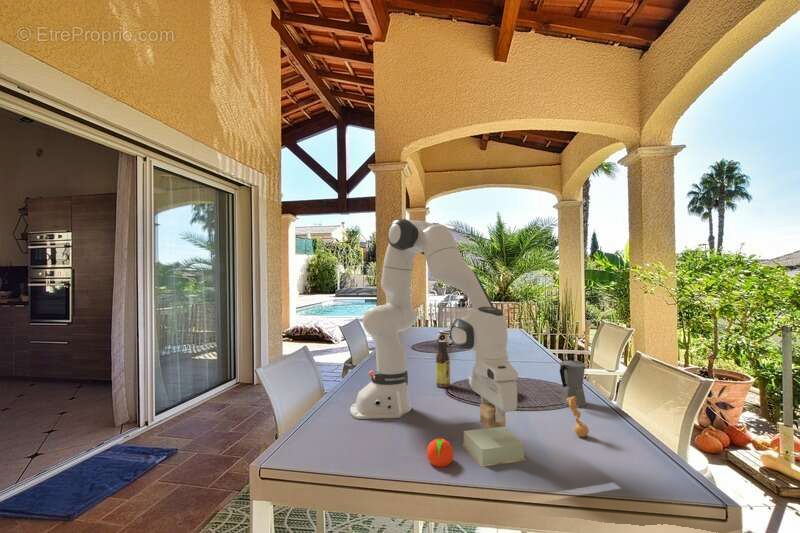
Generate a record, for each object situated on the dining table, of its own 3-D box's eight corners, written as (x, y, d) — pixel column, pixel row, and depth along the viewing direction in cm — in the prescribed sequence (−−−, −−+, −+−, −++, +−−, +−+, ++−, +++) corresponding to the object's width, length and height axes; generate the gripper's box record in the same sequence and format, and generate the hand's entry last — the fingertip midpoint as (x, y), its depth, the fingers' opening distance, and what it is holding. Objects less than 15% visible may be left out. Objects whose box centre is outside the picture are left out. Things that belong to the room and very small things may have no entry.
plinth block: (482, 465, 99) (482, 449, 99) (463, 445, 111) (463, 430, 111) (524, 459, 102) (523, 444, 102) (501, 440, 114) (501, 426, 114)
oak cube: (488, 428, 104) (488, 409, 104) (480, 421, 108) (480, 403, 108) (505, 426, 105) (505, 407, 105) (496, 419, 110) (496, 401, 110)
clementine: (453, 476, 96) (452, 447, 96) (425, 474, 97) (425, 445, 97) (454, 460, 104) (453, 434, 104) (428, 459, 105) (427, 432, 105)
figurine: (587, 443, 113) (587, 402, 114) (565, 439, 116) (564, 399, 117) (589, 432, 121) (588, 394, 121) (568, 429, 124) (567, 391, 124)
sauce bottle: (449, 388, 168) (448, 342, 168) (435, 387, 169) (434, 342, 169) (450, 384, 174) (450, 340, 175) (436, 383, 176) (436, 339, 176)
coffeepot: (569, 396, 155) (568, 351, 156) (593, 402, 148) (592, 355, 148) (549, 405, 146) (548, 357, 146) (574, 412, 138) (573, 361, 139)
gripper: (465, 359, 116) (466, 405, 116) (498, 376, 96) (499, 432, 96) (485, 357, 118) (486, 403, 117) (521, 374, 98) (522, 429, 98)
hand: (492, 416), depth 107 cm, fingers closed on oak cube, 5 cm apart
